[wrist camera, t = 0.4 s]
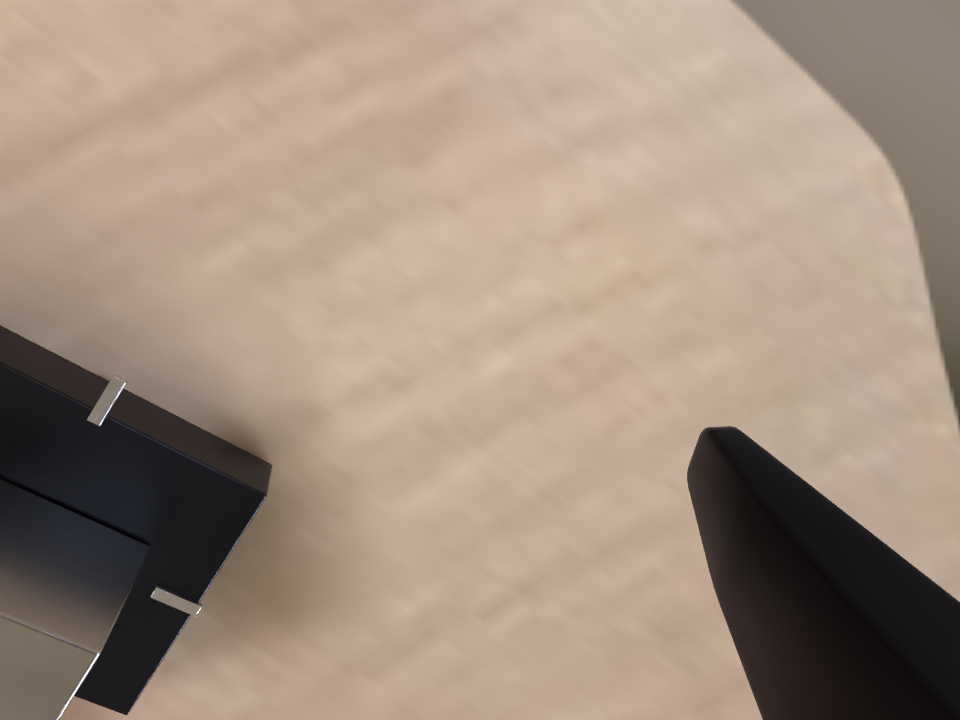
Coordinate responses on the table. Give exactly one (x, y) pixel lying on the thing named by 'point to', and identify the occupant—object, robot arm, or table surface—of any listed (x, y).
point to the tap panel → (127, 496)
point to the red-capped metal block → (55, 600)
